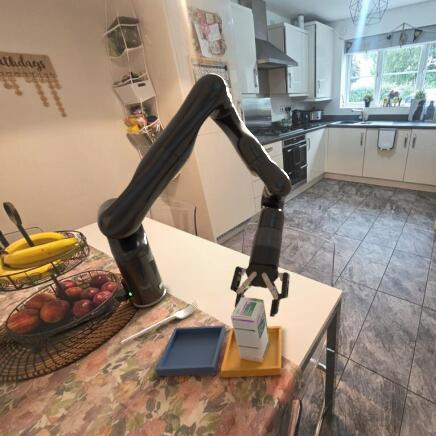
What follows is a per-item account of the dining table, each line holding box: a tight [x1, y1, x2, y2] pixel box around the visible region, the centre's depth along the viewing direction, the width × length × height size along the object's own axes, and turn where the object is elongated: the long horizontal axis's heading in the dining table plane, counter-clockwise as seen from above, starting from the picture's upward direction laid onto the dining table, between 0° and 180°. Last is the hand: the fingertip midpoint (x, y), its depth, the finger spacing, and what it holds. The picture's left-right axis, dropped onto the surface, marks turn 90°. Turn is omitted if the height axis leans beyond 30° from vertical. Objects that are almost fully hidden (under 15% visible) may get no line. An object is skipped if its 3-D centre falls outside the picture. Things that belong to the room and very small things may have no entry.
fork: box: [120, 300, 199, 345], centre depth 68 cm, size 3×20×2 cm, turn 127°
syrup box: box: [230, 296, 270, 363], centre depth 56 cm, size 6×6×14 cm
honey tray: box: [220, 325, 283, 379], centre depth 59 cm, size 13×11×2 cm
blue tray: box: [154, 325, 227, 377], centre depth 60 cm, size 13×11×2 cm
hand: (255, 313), depth 58 cm, fingers open, 8 cm apart
